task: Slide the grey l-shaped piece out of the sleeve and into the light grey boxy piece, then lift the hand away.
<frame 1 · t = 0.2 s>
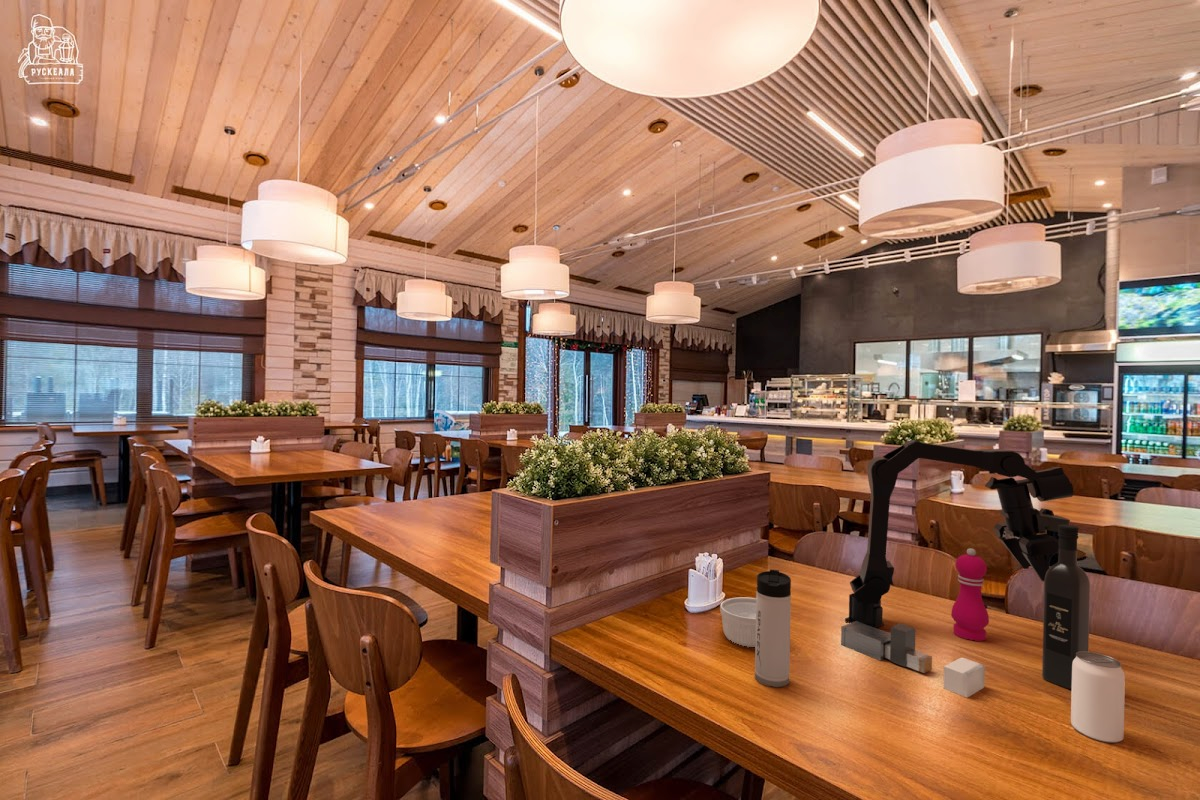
hand: (1035, 574, 126), 15 cm above the table, tool pointing down, fingers open, 9 cm apart
light grey boxy piece: (964, 687, 106), on the table
ramekin: (749, 639, 127), on the table
wine bottle: (1064, 683, 109), on the table
sleeve: (869, 650, 122), on the table
travel mug: (771, 680, 108), on the table
can: (1096, 733, 93), on the table
pepper mill: (969, 636, 130), on the table
grey l-shaped piece: (888, 639, 118), point 4 cm above the table, slide at 0.0 cm
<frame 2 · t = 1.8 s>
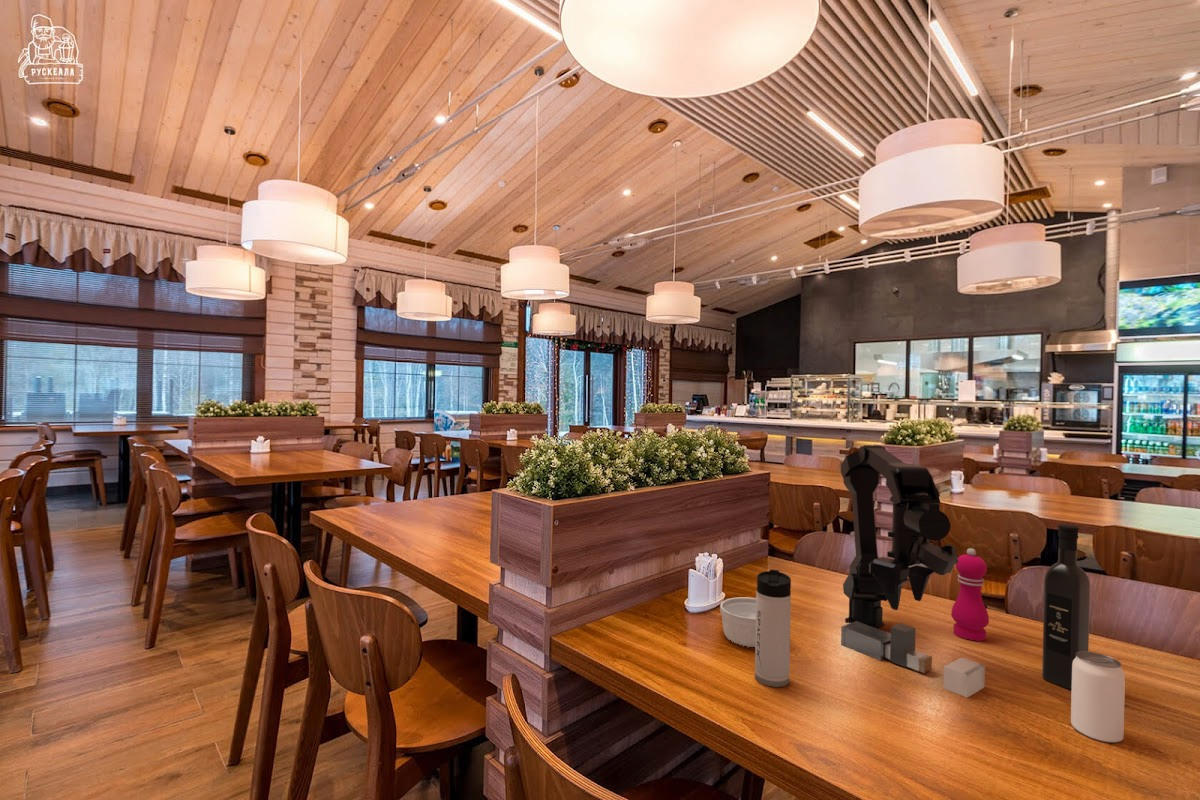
hand: (906, 604, 116), 12 cm above the table, tool pointing down, fingers open, 9 cm apart
nothing on the table moved.
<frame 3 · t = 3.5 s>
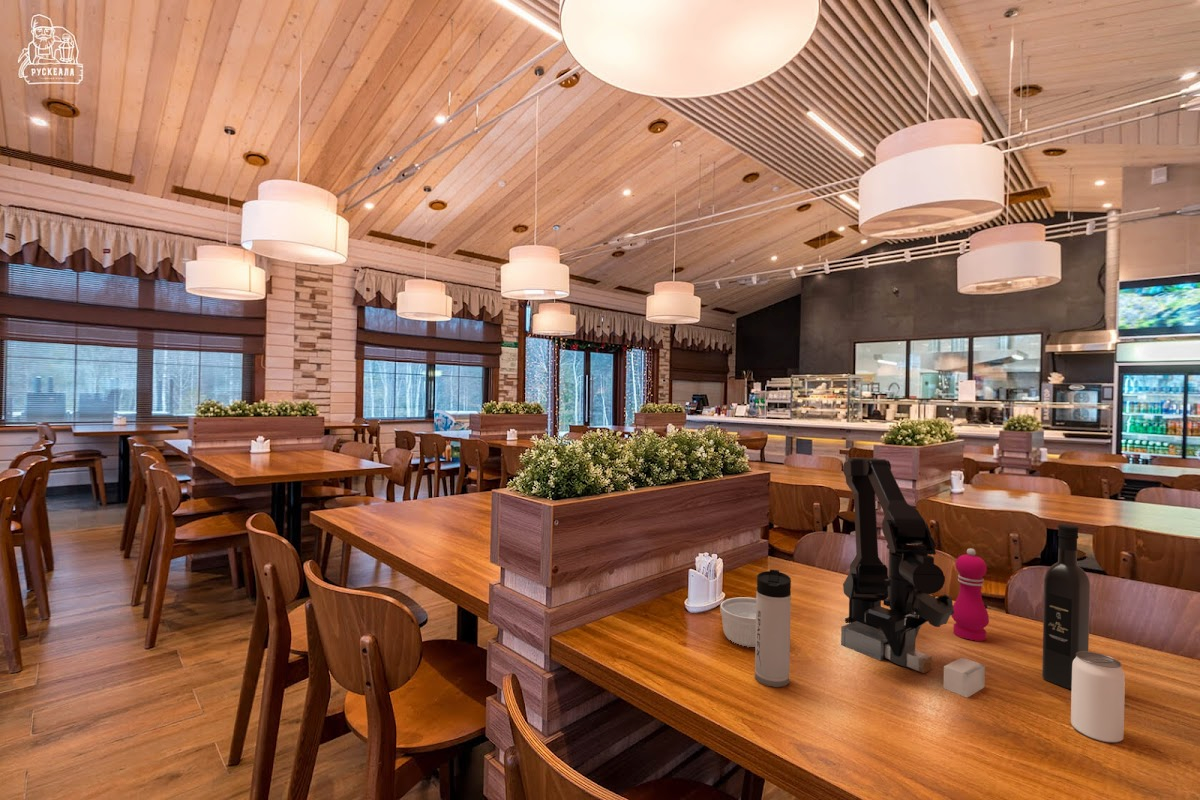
hand: (902, 653, 116), 2 cm above the table, tool pointing down, fingers closed on grey l-shaped piece, 4 cm apart
grey l-shaped piece: (888, 639, 118), point 4 cm above the table, slide at 0.0 cm, touching gripper
everything else where it was.
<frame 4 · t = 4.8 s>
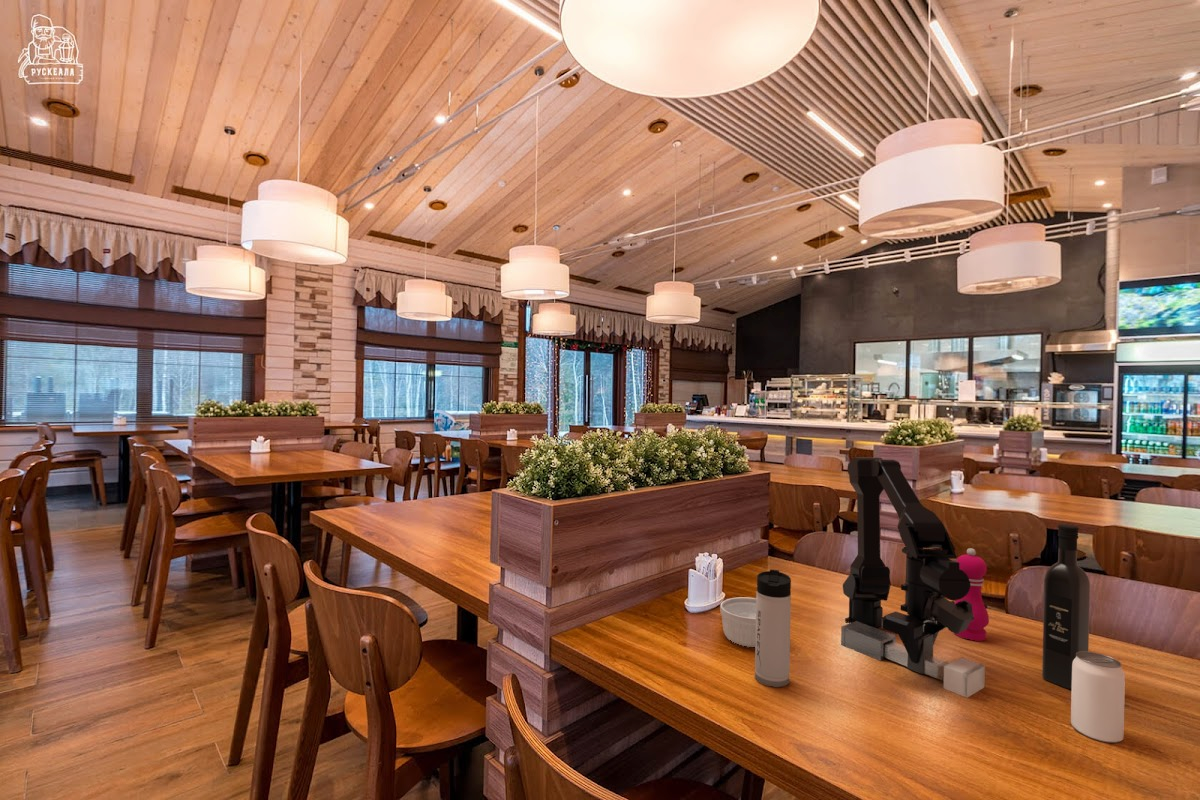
hand: (920, 660, 113), 2 cm above the table, tool pointing down, fingers closed on grey l-shaped piece, 4 cm apart
grey l-shaped piece: (905, 645, 115), point 4 cm above the table, slide at 3.5 cm, touching gripper
everything else where it was.
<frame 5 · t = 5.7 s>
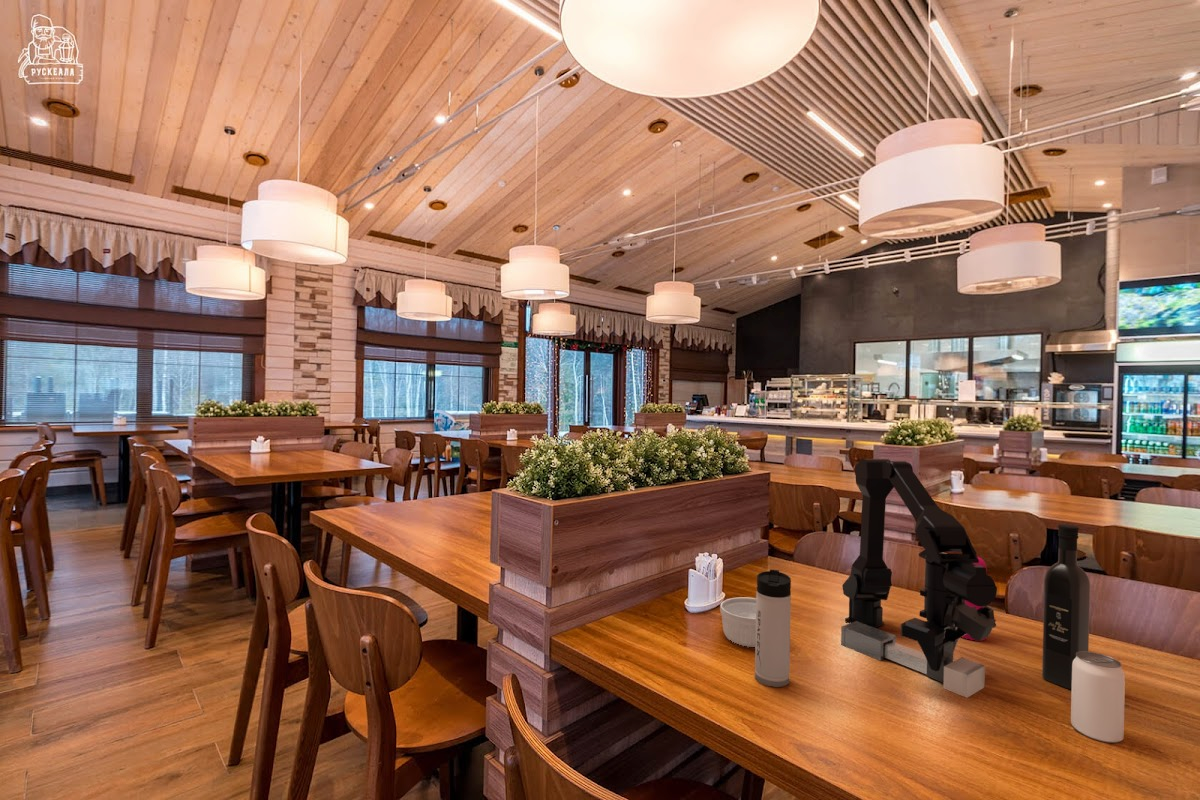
hand: (939, 667, 110), 2 cm above the table, tool pointing down, fingers closed on grey l-shaped piece, 4 cm apart
grey l-shaped piece: (924, 652, 112), point 4 cm above the table, slide at 7.2 cm, touching gripper
everything else where it was.
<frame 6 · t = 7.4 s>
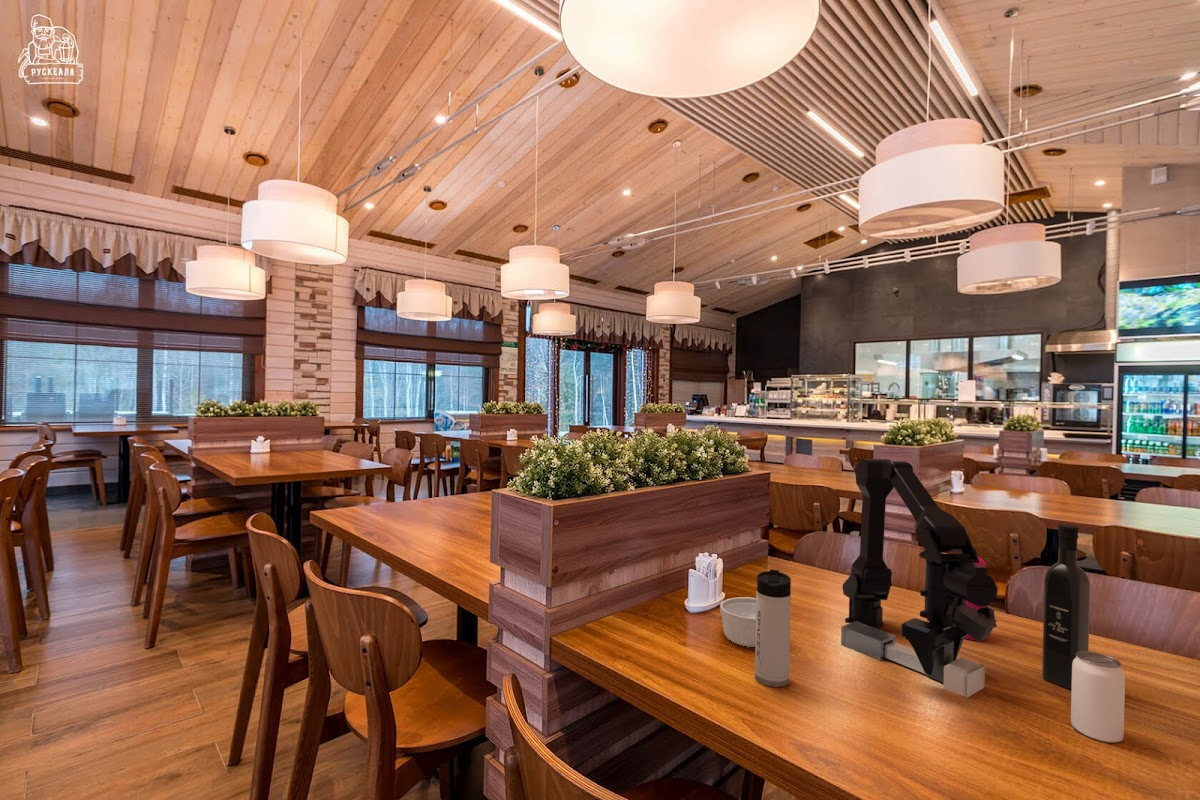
hand: (940, 667, 110), 2 cm above the table, tool pointing down, fingers open, 9 cm apart
grey l-shaped piece: (924, 652, 112), point 4 cm above the table, slide at 7.3 cm
everything else where it was.
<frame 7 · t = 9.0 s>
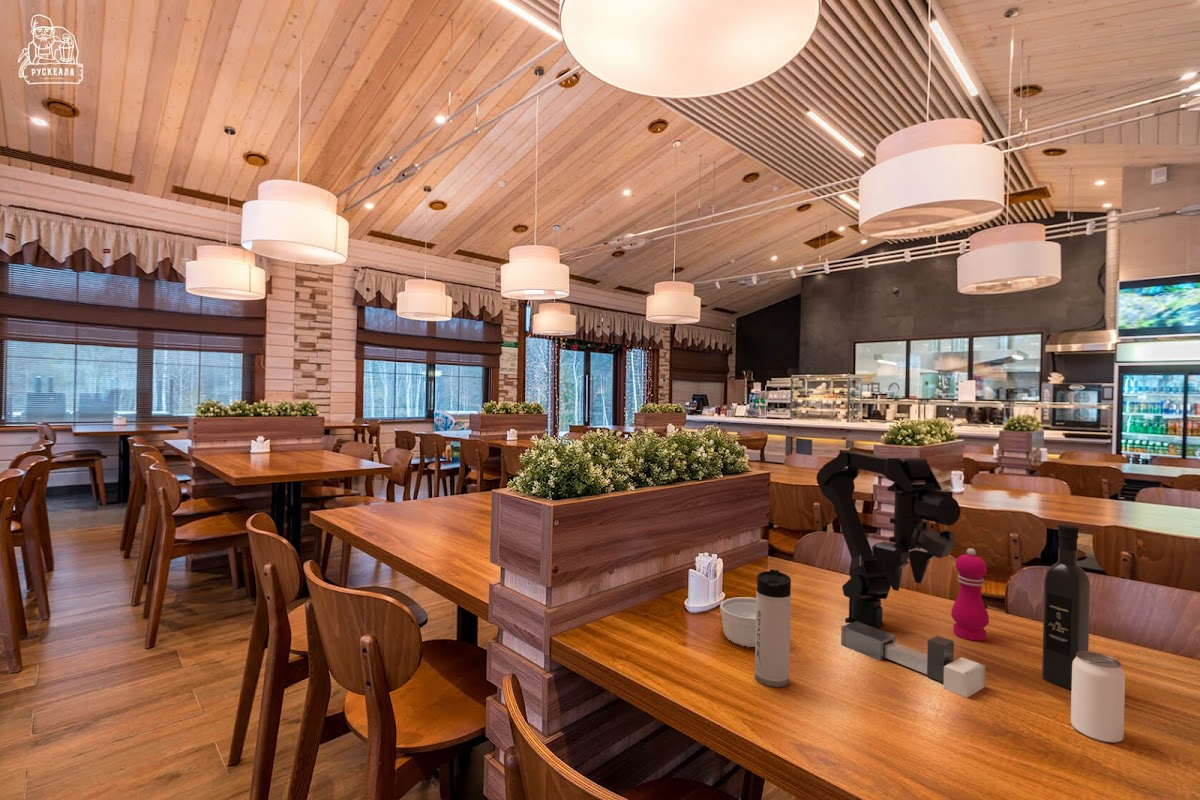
hand: (907, 586, 124), 13 cm above the table, tool pointing down, fingers open, 9 cm apart
nothing on the table moved.
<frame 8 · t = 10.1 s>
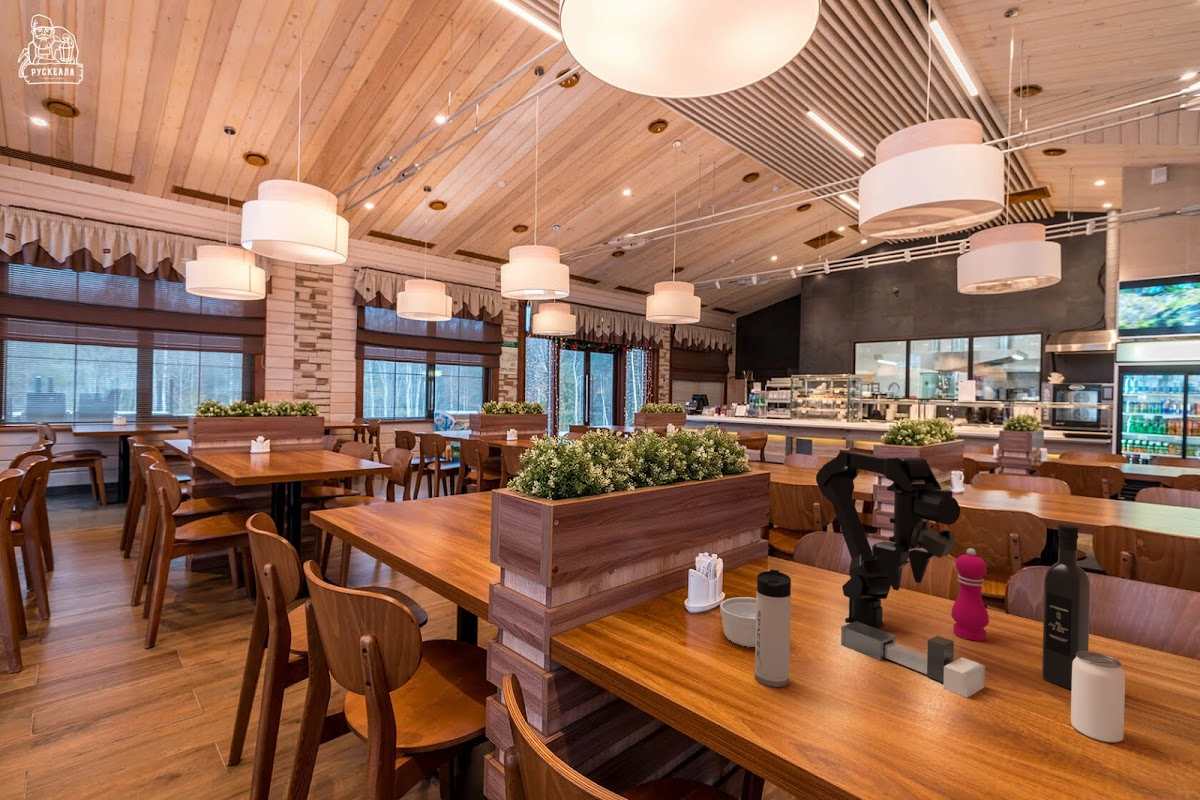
hand: (907, 586, 124), 13 cm above the table, tool pointing down, fingers open, 9 cm apart
nothing on the table moved.
at the end: grey l-shaped piece slide at 7.3 cm; the gripper is holding nothing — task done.
